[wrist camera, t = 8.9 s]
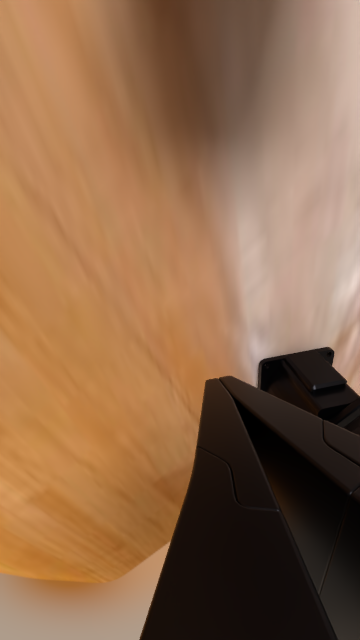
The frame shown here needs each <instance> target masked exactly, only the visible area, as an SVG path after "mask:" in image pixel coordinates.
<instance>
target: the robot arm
mask: <svg viewBox="0 0 360 640" xmlns="http://www.w3.org/2000/svg"><path fill="white" fill-rule="evenodd" d="M333 358H334V351H333V350H332V349H331V348H330V347H325V348H320V349H314V350H309V351H303V352H298V353H293V354H287V355H282V356H277V357H271V358H266V359H263V360H262V361H261V362H260V364H259V385H258V388H256V387H254V386H252V385H249V384H247V383H245V382H243V381H241V380H239V379H237V378H235V377H233V376H225V377H220V378H219V379H218V378H214V379H209V380H206V382H205V389H204V396H203V403H202V411H201V418H200V425H199V432H198V439H197V447H196V452H195V459H194V464H193V470H192V475H191V478H190V482H189V486H188V489H187V493H186V496H185V499H184V502H183V505H182V508H181V512H180V515H179V518H178V521H177V524H176V527H175V530H174V533H173V537H172V540H171V543H170V546H169V549H168V552H167V556H166V558H165V562H164V565H163V568H162V571H161V574H160V577H159V581H158V584H157V587H156V590H155V593H154V596H153V600H152V602H151V606H150V608H149V611H148V615H147V618H146V621H145V624H144V627H143V630H142V633H141V636H140V640H360V396H359V395H358V394H357V393H356V392H355V391H354V390H353V389H352V388H350V387H349V386H348V385H347V384H346V383H347V381H346V379H345V378H344V377H343V376H342V375H341V374H340V373H338V372H337V371H336V370H335V369H334V368H333V367H332V363H333ZM266 364H267V365H266ZM265 365H266V366H265Z"/></svg>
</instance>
